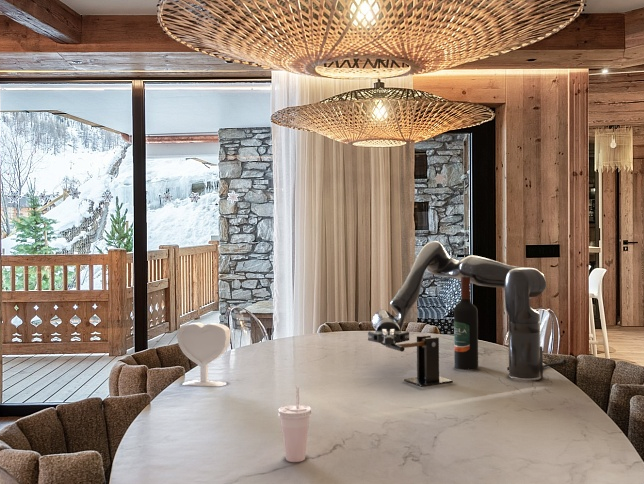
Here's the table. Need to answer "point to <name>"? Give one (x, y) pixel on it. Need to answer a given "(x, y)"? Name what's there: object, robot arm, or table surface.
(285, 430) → the smoothie
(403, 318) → the robot arm
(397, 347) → the lever
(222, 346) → the heart sculpture
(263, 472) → the table surface
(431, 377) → the bracket
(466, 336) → the wine bottle
